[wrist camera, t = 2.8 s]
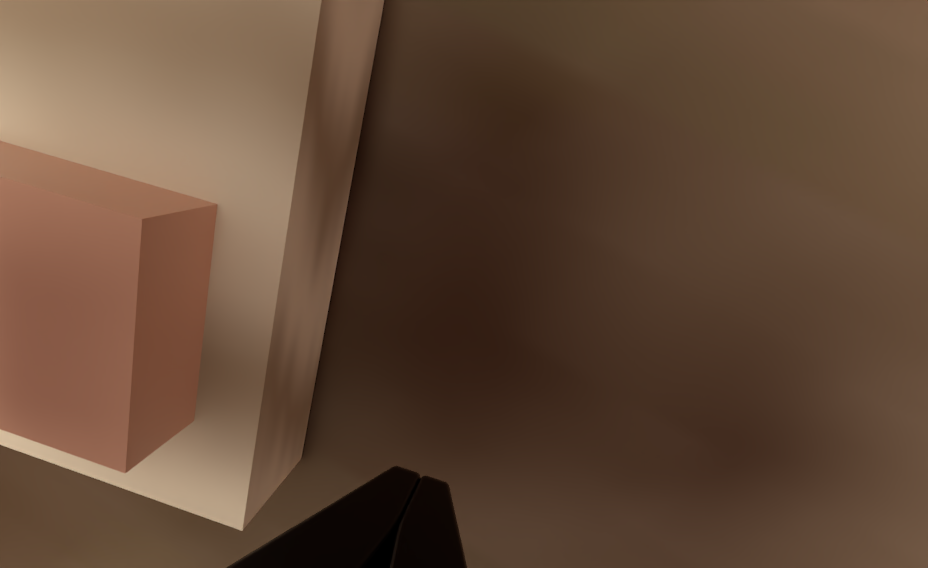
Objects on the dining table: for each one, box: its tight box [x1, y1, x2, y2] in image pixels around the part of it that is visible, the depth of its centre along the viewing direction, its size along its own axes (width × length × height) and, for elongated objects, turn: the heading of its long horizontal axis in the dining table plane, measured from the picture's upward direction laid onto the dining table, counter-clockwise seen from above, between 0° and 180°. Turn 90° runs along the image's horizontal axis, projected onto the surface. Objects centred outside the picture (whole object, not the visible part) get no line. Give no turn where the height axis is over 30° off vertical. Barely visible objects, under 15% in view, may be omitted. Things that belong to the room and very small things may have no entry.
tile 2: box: [0, 141, 217, 473], centre depth 11 cm, size 5×5×2 cm
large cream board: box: [0, 0, 384, 531], centre depth 12 cm, size 20×12×3 cm, turn 166°
